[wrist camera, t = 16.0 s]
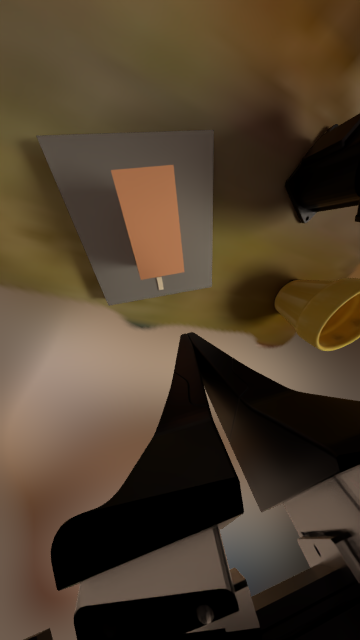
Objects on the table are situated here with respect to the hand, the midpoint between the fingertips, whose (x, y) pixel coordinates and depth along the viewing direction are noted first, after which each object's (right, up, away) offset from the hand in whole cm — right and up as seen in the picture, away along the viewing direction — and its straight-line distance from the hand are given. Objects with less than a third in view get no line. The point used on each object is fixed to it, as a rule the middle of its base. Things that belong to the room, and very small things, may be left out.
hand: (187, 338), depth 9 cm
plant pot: (+21, +6, +17) cm, 28 cm away
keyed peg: (-4, +12, +8) cm, 15 cm away
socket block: (-4, +12, +8) cm, 14 cm away
